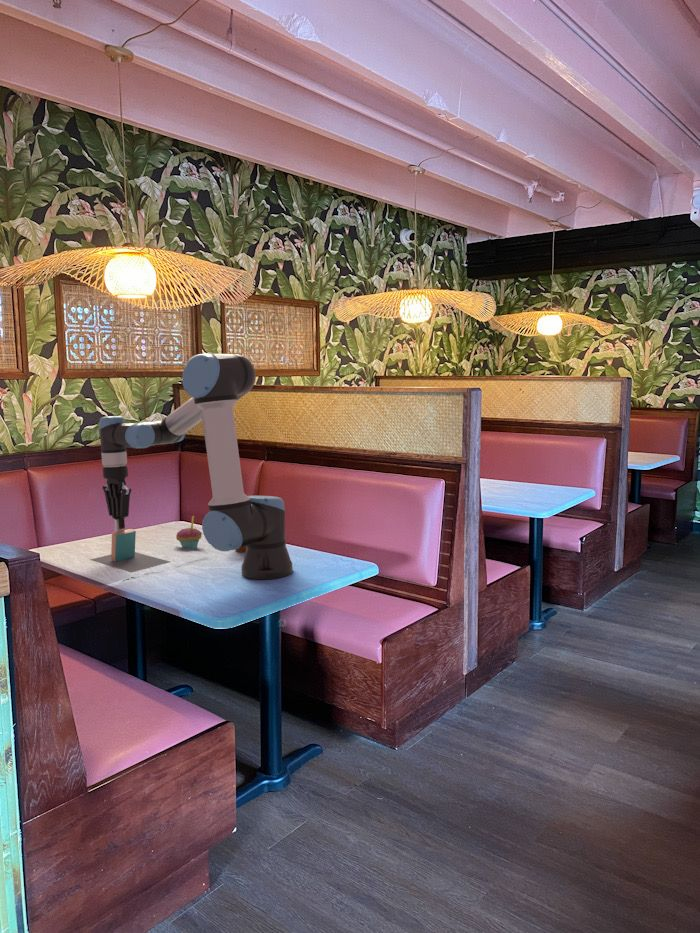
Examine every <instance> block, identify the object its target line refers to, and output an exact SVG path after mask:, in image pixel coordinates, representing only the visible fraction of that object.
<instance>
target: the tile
mask: <svg viewBox="0 0 700 933" xmlns="http://www.w3.org/2000/svg"><path fill="white" fill-rule="evenodd" d="M136 535H137V532H136V530H135V529H133V528H129V529H125V530H123V531H118V532H115V531H113V532H112V533H111V549H110V550H111V553H110V555H111V560H113V561H115V562H116V561H120V560H124V559H128V558H132V557H135V552H136V537H137V536H136Z"/></svg>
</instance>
